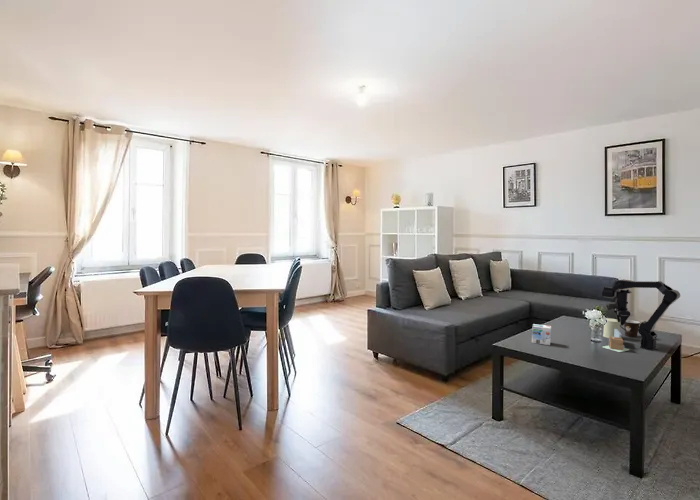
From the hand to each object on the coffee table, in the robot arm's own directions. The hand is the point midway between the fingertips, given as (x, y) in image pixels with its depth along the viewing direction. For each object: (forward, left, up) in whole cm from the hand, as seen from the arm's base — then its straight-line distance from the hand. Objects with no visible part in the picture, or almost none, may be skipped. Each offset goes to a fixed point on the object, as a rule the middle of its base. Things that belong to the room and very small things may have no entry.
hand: (620, 323), depth 243 cm
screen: (-2, +6, -12) cm, 13 cm away
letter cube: (-7, +16, -12) cm, 21 cm away
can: (+9, -7, -12) cm, 17 cm away
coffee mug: (+6, -22, -12) cm, 26 cm away
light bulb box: (+20, +47, -12) cm, 53 cm away
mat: (-7, +16, -12) cm, 21 cm away
